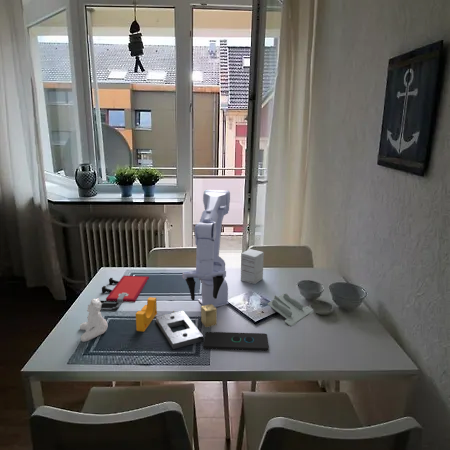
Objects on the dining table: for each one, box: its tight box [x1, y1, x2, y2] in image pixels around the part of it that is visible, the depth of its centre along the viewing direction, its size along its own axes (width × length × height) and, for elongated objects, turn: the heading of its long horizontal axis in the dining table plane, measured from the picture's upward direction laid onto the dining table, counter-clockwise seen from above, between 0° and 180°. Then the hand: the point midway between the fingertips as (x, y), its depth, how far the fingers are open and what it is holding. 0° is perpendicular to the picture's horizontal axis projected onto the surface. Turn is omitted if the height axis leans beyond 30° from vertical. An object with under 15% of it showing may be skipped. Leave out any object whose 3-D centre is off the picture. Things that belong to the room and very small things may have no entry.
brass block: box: [200, 304, 218, 328], centre depth 127 cm, size 4×4×6 cm
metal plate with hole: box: [155, 310, 204, 350], centre depth 123 cm, size 10×18×2 cm, turn 27°
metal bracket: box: [267, 292, 315, 327], centre depth 136 cm, size 14×6×15 cm
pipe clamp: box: [135, 296, 158, 332], centre depth 128 cm, size 12×4×6 cm, turn 170°
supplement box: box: [240, 248, 265, 285], centre depth 162 cm, size 7×7×13 cm
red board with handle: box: [100, 275, 150, 311], centre depth 149 cm, size 30×3×15 cm
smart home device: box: [202, 331, 270, 352], centre depth 117 cm, size 8×2×20 cm
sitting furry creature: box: [79, 297, 108, 343], centre depth 120 cm, size 10×9×12 cm
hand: (203, 298), depth 124 cm, fingers open, 7 cm apart
